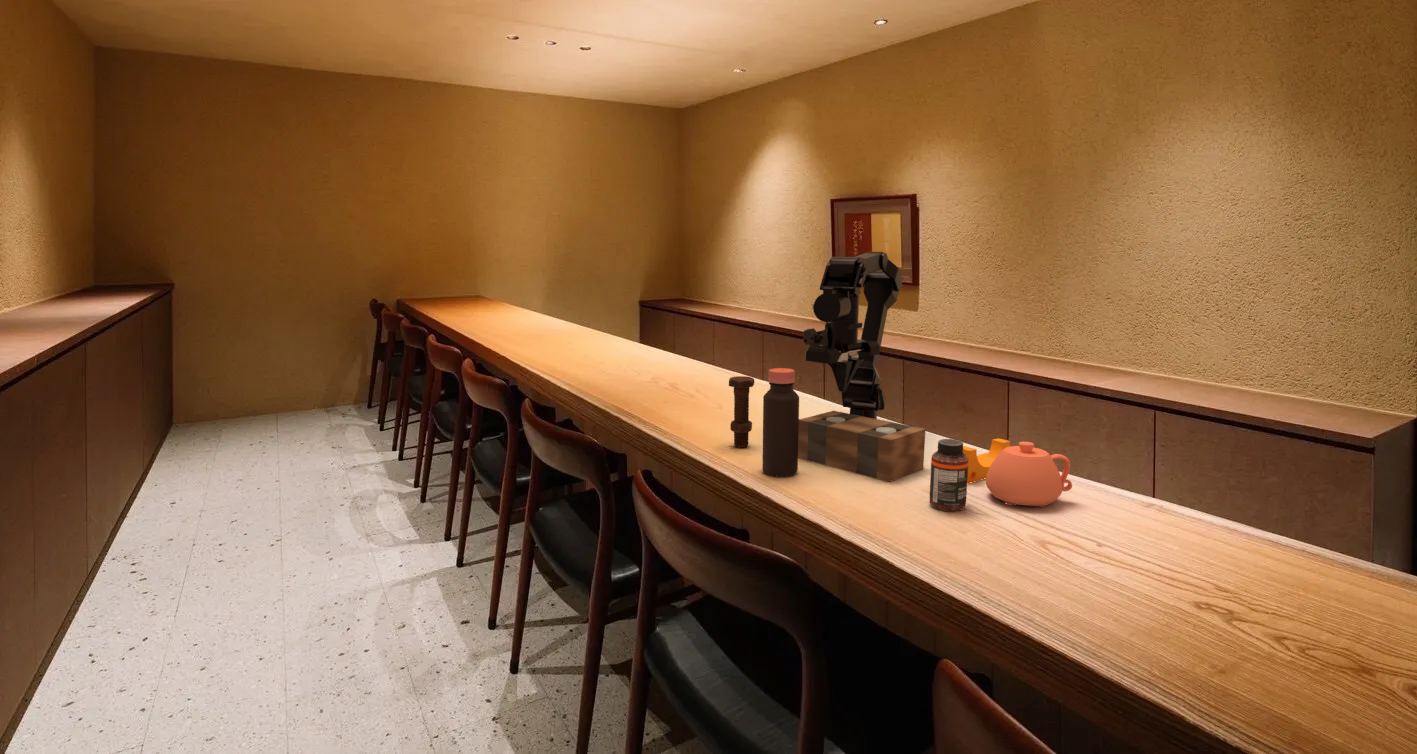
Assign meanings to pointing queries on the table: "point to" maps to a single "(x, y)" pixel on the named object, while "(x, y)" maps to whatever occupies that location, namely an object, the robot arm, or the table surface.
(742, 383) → the bolt
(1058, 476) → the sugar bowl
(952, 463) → the supplement bottle
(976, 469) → the orange tape dispenser
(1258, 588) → the table surface
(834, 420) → the peg
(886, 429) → the peg
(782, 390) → the dark brown bottle
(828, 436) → the socket block
